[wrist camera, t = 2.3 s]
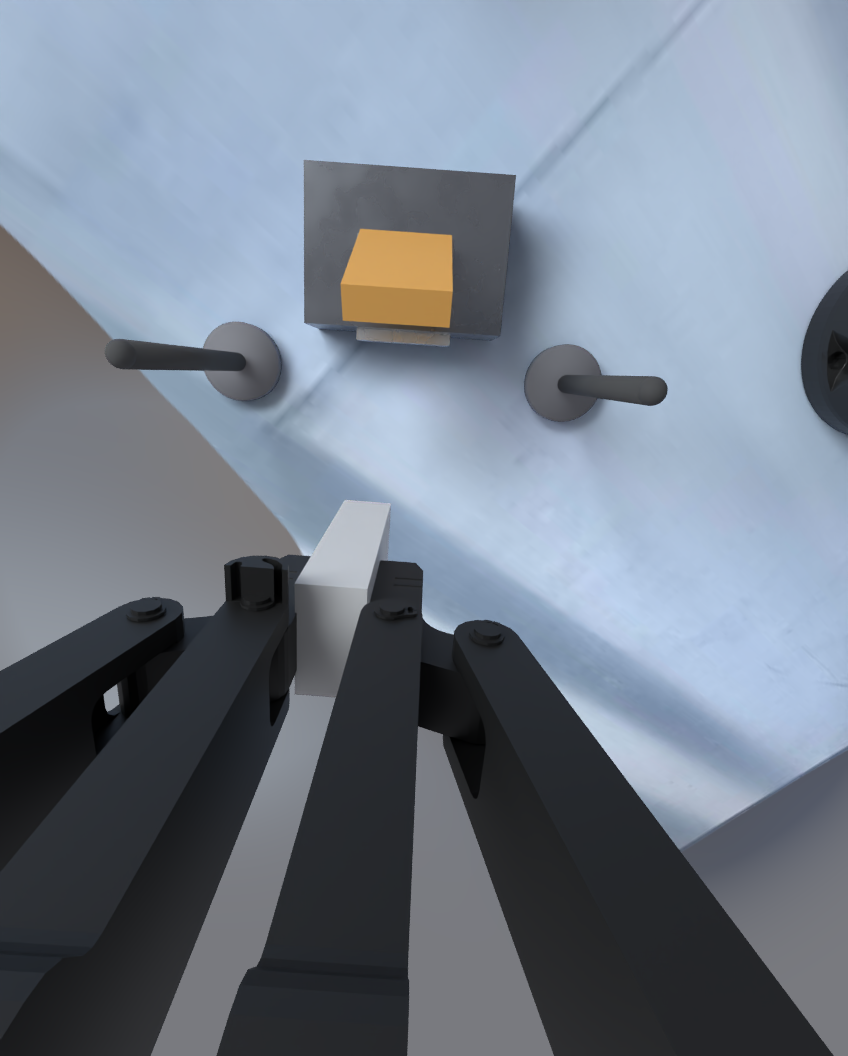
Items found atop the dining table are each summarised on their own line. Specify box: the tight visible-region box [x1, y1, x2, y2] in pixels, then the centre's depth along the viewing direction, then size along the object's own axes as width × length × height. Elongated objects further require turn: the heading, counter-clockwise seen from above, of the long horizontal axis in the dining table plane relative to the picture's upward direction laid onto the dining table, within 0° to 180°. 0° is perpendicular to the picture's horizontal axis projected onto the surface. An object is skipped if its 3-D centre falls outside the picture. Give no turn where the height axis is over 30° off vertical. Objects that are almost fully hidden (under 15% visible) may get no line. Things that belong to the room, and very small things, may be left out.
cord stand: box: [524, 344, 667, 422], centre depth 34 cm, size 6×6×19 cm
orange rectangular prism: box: [341, 229, 455, 328], centre depth 32 cm, size 2×6×10 cm, turn 87°
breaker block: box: [304, 160, 516, 347], centre depth 38 cm, size 11×14×5 cm
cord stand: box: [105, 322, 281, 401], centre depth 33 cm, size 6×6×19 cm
